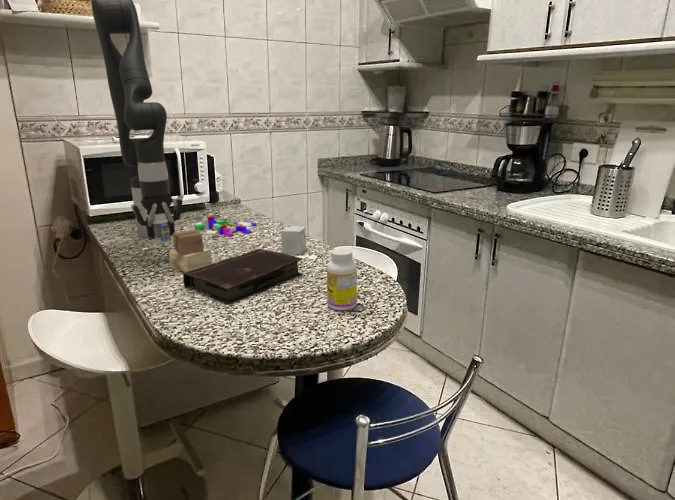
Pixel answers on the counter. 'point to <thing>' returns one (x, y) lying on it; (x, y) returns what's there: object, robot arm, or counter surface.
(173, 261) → the maple block
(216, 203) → the counter surface
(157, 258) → the counter surface
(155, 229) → the pill bottle
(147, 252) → the counter surface
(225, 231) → the building block set
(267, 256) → the diary
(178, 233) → the walnut block
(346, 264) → the supplement bottle
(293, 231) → the skincare box
